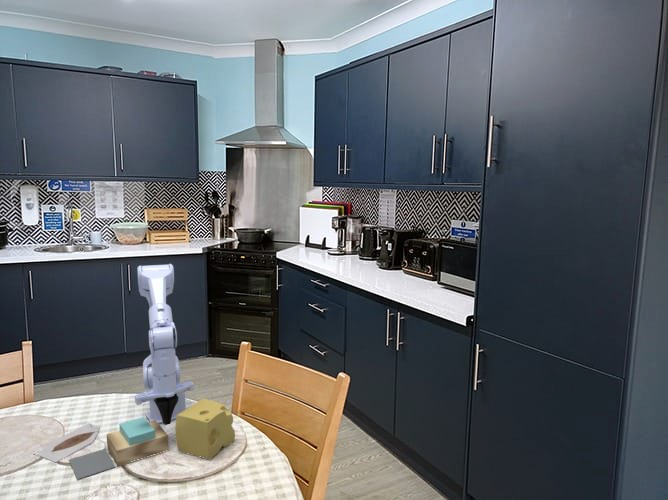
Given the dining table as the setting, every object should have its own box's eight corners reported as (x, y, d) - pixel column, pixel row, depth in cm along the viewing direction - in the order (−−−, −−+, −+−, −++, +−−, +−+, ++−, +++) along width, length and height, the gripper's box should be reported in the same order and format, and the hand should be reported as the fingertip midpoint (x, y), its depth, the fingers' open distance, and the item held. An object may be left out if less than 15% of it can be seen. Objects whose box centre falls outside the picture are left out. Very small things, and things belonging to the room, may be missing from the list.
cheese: (235, 441, 124) (234, 404, 123) (208, 462, 114) (206, 422, 113) (203, 432, 128) (202, 397, 127) (174, 452, 118) (173, 414, 117)
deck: (155, 434, 127) (155, 420, 127) (168, 450, 119) (168, 435, 119) (107, 449, 120) (106, 434, 119) (117, 466, 112) (116, 450, 111)
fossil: (88, 422, 132) (113, 428, 128) (89, 426, 133) (113, 433, 128) (29, 452, 118) (55, 459, 114) (30, 456, 118) (56, 464, 114)
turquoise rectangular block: (144, 424, 124) (143, 416, 124) (155, 437, 117) (154, 430, 117) (119, 431, 121) (119, 423, 120) (129, 445, 114) (129, 437, 113)
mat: (105, 449, 119) (105, 448, 119) (115, 467, 112) (115, 466, 112) (69, 460, 115) (69, 459, 115) (77, 480, 107) (77, 479, 107)
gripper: (139, 384, 114) (142, 438, 116) (197, 370, 123) (199, 420, 125) (131, 375, 120) (133, 427, 121) (187, 363, 129) (189, 411, 130)
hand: (166, 423), depth 123 cm, fingers closed
